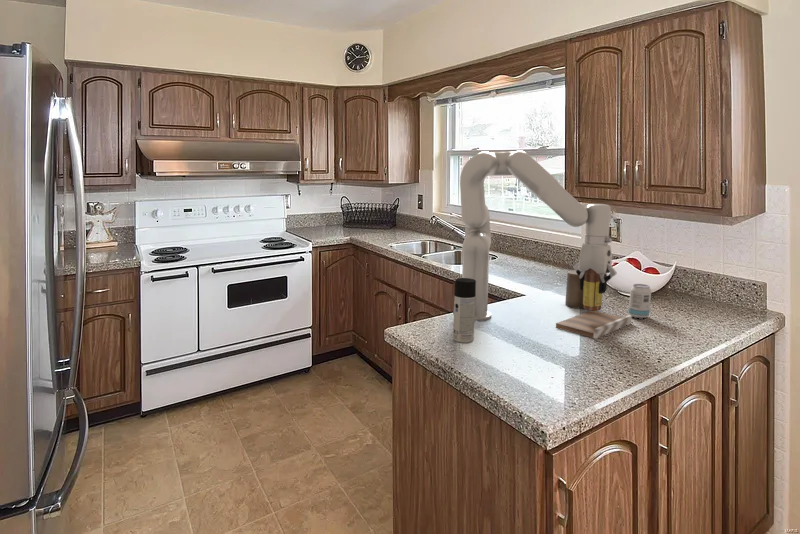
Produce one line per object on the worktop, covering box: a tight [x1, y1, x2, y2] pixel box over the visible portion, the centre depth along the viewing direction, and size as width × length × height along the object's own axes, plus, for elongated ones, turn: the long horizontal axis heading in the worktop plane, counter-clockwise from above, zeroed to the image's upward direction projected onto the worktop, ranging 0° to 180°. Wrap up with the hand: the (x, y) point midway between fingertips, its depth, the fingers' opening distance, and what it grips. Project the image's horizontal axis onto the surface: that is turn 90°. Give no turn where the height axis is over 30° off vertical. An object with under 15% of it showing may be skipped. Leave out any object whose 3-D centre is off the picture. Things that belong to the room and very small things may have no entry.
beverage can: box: [627, 283, 652, 320], centre depth 184 cm, size 7×7×12 cm
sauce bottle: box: [583, 268, 603, 312], centre depth 174 cm, size 6×6×20 cm
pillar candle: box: [564, 269, 584, 310], centre depth 199 cm, size 10×10×15 cm
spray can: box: [452, 277, 476, 344], centre depth 159 cm, size 7×7×20 cm
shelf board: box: [555, 310, 633, 339], centre depth 175 cm, size 24×15×3 cm, turn 130°
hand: (592, 290), depth 174 cm, fingers closed on sauce bottle, 6 cm apart
